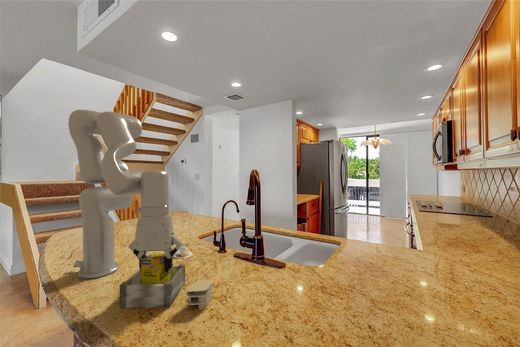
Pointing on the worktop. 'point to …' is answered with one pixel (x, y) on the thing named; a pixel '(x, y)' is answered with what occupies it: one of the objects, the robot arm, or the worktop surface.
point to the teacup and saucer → (182, 252)
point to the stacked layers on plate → (199, 293)
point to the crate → (152, 290)
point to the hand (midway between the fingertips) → (156, 269)
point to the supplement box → (154, 269)
